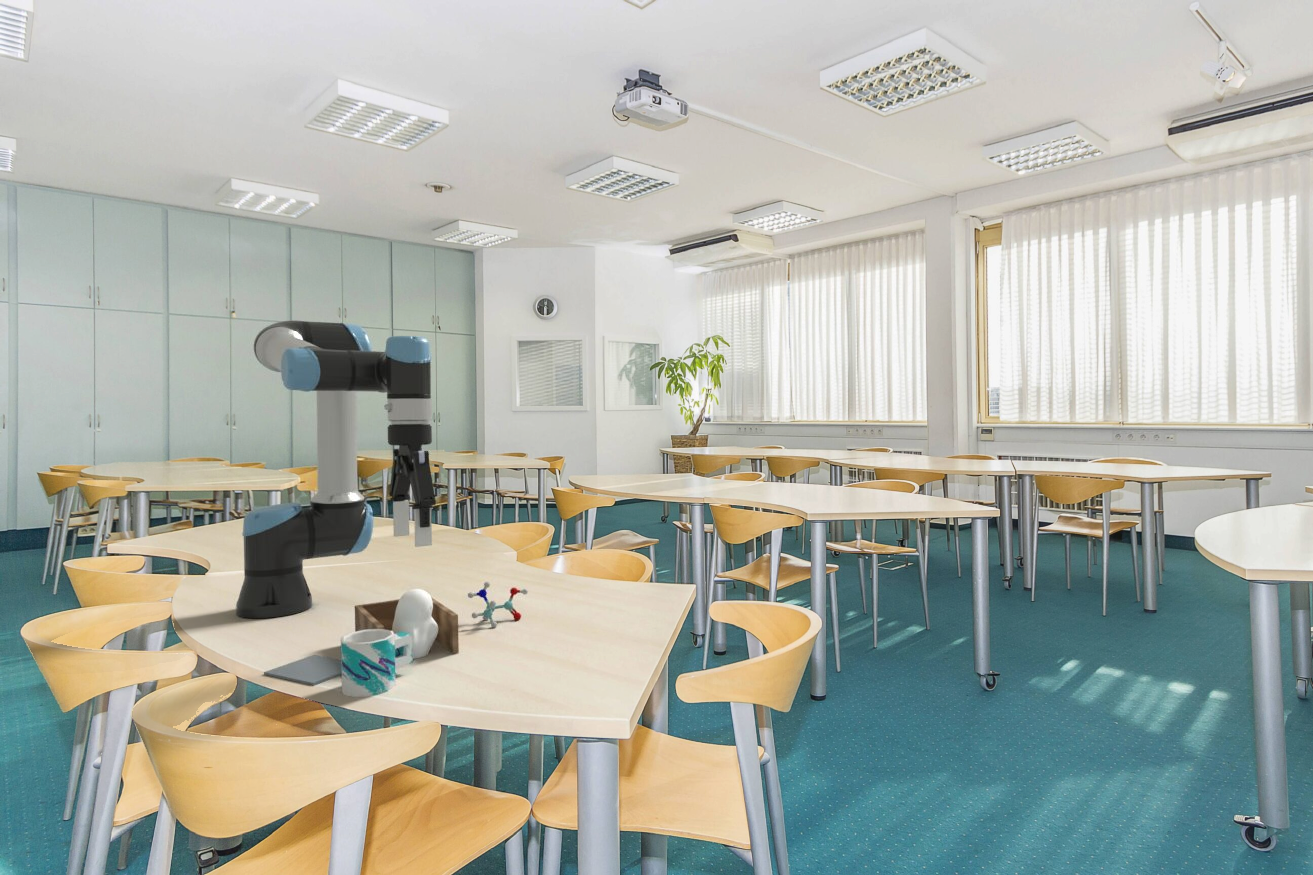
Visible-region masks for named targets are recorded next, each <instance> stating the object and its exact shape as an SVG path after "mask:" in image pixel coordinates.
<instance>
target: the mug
mask: <svg viewBox="0 0 1313 875" xmlns="http://www.w3.org/2000/svg"><path fill="white" fill-rule="evenodd" d="M395 649H396V654H395ZM340 660H341V673H342V675H341V691H342V695H344V696H349V697H353V698H360V697H372V696H377V695H380V694H383V693H387V692H389V691H391V690H392V689H393V688H395V687H396V686H397V682H396V681H397V680H396V670H399V669H401V668H403V667H406V666H409V665H412V664H413V663H414V662H413V661H414V660H413V656H412V634H409V633H403V632H400V633H397V634H394V633H393V631H390V630H384V629H366V630H361V631H356V632H355V631H352V632H349V633H347V634H346V635H342V636H341V637H340Z"/></svg>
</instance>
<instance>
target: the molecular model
mask: <svg viewBox="0 0 1313 875" xmlns="http://www.w3.org/2000/svg"><path fill="white" fill-rule="evenodd" d="M483 584H484V585H483V588H481V589H480V590H479V591H478V592H474V593H473V591H470V592H468V594H467V597H468V598H469V599H472V598H473V597H476V596H477V597H478V596H479V598H483V600H484V601H485V604H486V608H485V609H484V611H483V612H476V611H475V612H472V613H471V618H472V619H477V618H479V617H482V620H483V621H488V620H489V621H490V626H491V627H492V628H493V629H494V628H497V627H498V623H497V621H495V620H494V618H493V613H494V612H495V610H498V609H505V610H506V611H509V613H510V614H511V615H512V616H513V619H514V620H515V621H519V620H520V619H521V618H522V614H521V613H520V612H518V611H517V610H516V609H515V607H513V606H514V604H513V602H512V601H513V598H514V596H516V595H517V594H523V595H527V594H528V592H529V590H528V589H527V588H523V589H518V588H517V587H514V586H513V587H511V588H510V591H509V593H510V596H509V599H508V600H507V601H505V602H504V604H501V605H497V602H496V600H491V601H489V599H488V597H487V594H488V593H487V589H488V588H489V587H491V583H490V582H489V581H485V582H484V583H483Z"/></svg>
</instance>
